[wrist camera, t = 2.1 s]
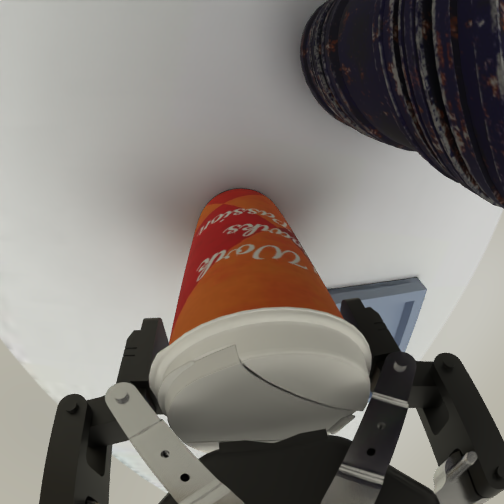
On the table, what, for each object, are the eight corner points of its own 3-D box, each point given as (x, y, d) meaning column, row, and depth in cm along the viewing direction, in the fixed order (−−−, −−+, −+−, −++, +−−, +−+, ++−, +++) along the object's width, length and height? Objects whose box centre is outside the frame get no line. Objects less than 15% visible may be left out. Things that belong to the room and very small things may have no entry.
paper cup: (317, 199, 21) (427, 363, 9) (266, 288, 24) (305, 466, 12) (205, 152, 18) (185, 305, 6) (165, 255, 22) (128, 445, 10)
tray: (231, 299, 24) (232, 315, 23) (417, 277, 25) (426, 289, 24) (244, 409, 32) (246, 423, 31) (379, 386, 33) (384, 398, 32)
